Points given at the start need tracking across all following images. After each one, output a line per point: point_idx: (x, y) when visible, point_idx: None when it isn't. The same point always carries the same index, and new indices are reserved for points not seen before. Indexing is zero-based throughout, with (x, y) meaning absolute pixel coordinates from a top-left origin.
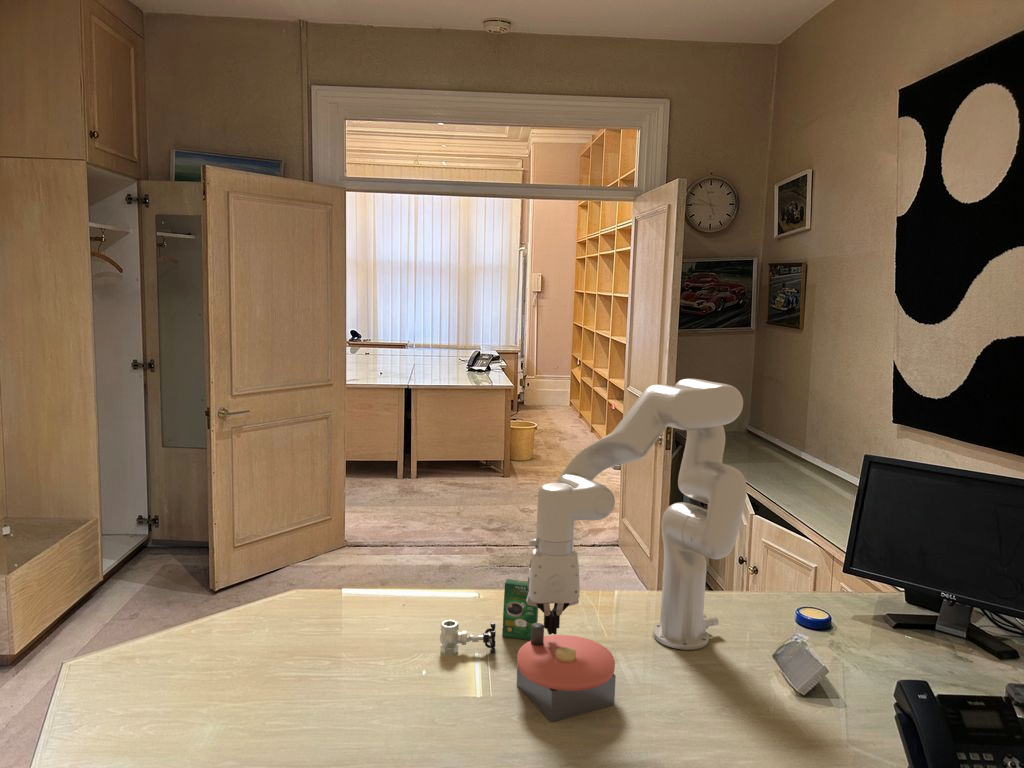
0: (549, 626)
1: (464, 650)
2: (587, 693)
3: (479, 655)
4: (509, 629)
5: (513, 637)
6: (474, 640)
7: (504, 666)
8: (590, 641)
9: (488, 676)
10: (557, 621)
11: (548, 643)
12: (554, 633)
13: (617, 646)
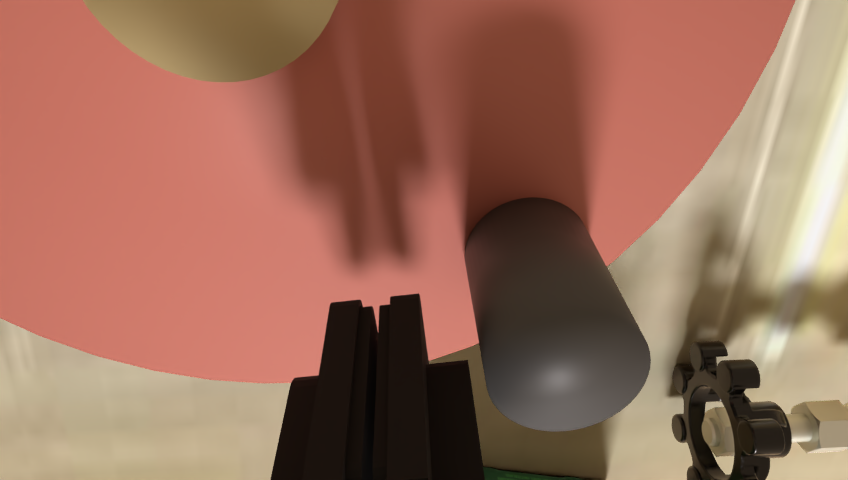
0: (420, 357)
1: (827, 373)
2: None
3: (763, 336)
4: None
5: (555, 478)
6: (831, 406)
7: (652, 242)
8: (2, 297)
9: (778, 133)
10: (307, 438)
11: (416, 243)
12: (354, 301)
13: (16, 445)
